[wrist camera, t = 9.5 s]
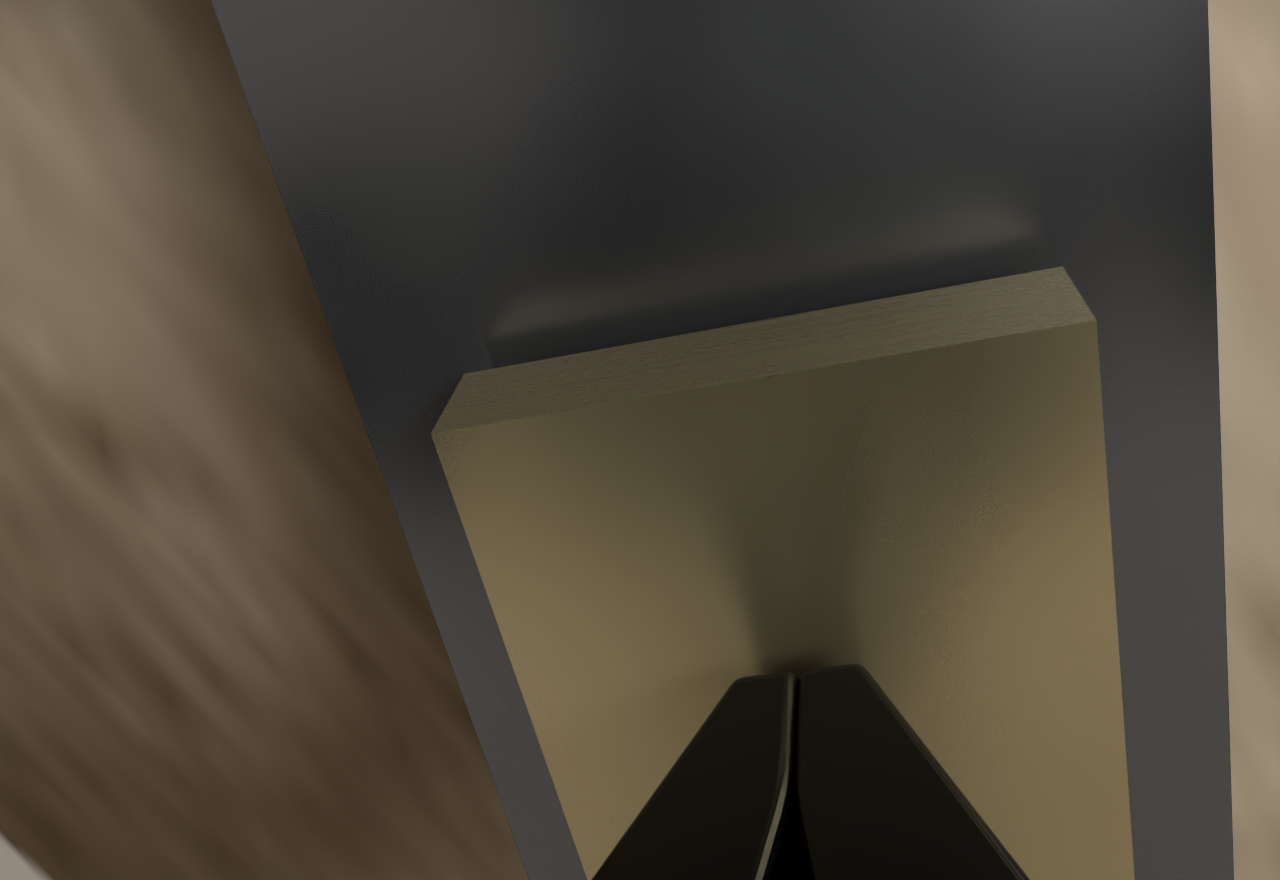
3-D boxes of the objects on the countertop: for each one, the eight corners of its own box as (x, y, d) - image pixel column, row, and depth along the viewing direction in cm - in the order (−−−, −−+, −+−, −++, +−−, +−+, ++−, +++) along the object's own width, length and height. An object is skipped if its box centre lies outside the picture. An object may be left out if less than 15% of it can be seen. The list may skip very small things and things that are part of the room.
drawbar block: (1083, 602, 16) (1237, 986, 10) (646, 657, 17) (582, 1027, 12) (931, -1098, 9) (1135, -2420, 4) (237, -818, 10) (-344, -1533, 5)
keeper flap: (1145, 1007, 11) (1177, 1115, 10) (663, 1035, 11) (653, 1138, 10) (1093, 256, 7) (1135, 317, 7) (438, 375, 8) (399, 443, 7)
